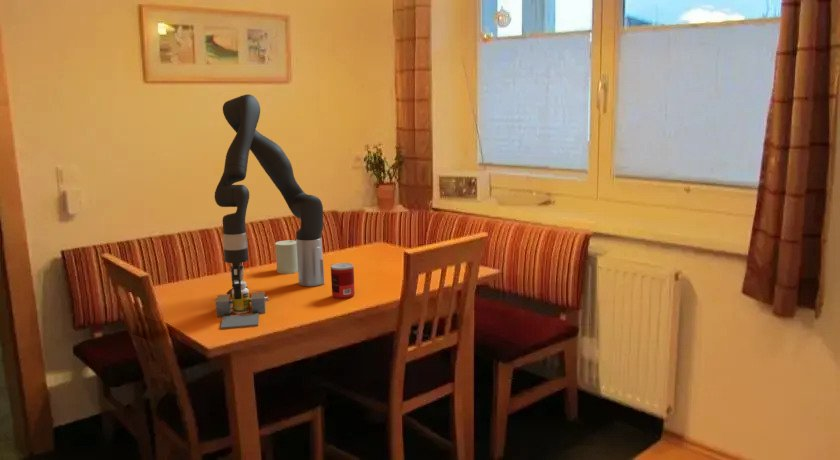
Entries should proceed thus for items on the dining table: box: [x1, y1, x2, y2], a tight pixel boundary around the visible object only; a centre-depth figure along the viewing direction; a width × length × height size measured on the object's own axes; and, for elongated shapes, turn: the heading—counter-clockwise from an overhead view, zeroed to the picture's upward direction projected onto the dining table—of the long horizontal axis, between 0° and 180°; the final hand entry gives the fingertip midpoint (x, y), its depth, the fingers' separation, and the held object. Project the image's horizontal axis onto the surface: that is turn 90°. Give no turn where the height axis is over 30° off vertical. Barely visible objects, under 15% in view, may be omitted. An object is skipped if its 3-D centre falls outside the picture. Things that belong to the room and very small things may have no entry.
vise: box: [215, 291, 269, 318], centre depth 230 cm, size 17×10×5 cm, turn 101°
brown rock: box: [225, 285, 249, 299], centre depth 243 cm, size 8×7×5 cm
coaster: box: [220, 313, 260, 330], centre depth 219 cm, size 11×11×1 cm
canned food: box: [330, 262, 356, 300], centre depth 243 cm, size 8×8×11 cm
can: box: [274, 239, 298, 275], centre depth 279 cm, size 9×9×12 cm
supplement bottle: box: [231, 280, 251, 315], centre depth 228 cm, size 5×5×10 cm
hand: (238, 295), depth 228 cm, fingers open, 8 cm apart
